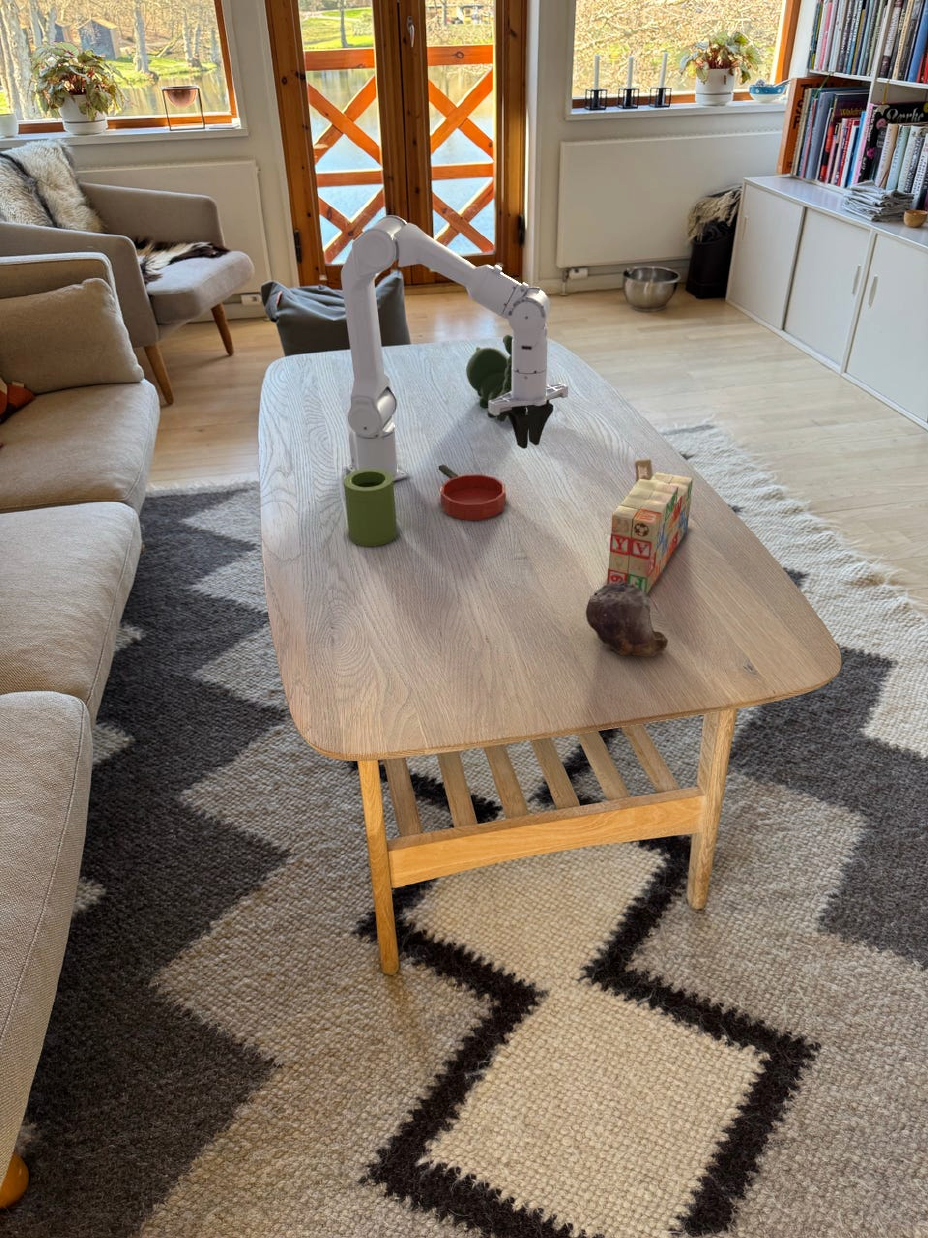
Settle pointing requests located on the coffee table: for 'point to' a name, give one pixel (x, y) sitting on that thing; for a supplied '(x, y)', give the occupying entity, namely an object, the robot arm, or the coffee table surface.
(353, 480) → the crock
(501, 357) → the toy figurine
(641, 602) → the rock
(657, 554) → the stack of blocks
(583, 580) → the coffee table surface
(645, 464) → the tin
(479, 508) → the pan
